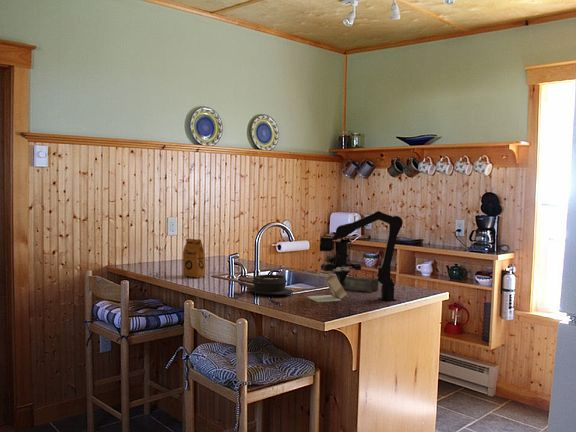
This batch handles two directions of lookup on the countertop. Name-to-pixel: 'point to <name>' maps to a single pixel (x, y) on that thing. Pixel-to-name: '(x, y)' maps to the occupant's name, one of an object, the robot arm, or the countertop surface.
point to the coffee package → (193, 258)
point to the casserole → (269, 285)
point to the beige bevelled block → (335, 287)
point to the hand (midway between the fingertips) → (340, 285)
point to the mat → (323, 298)
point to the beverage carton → (360, 284)
